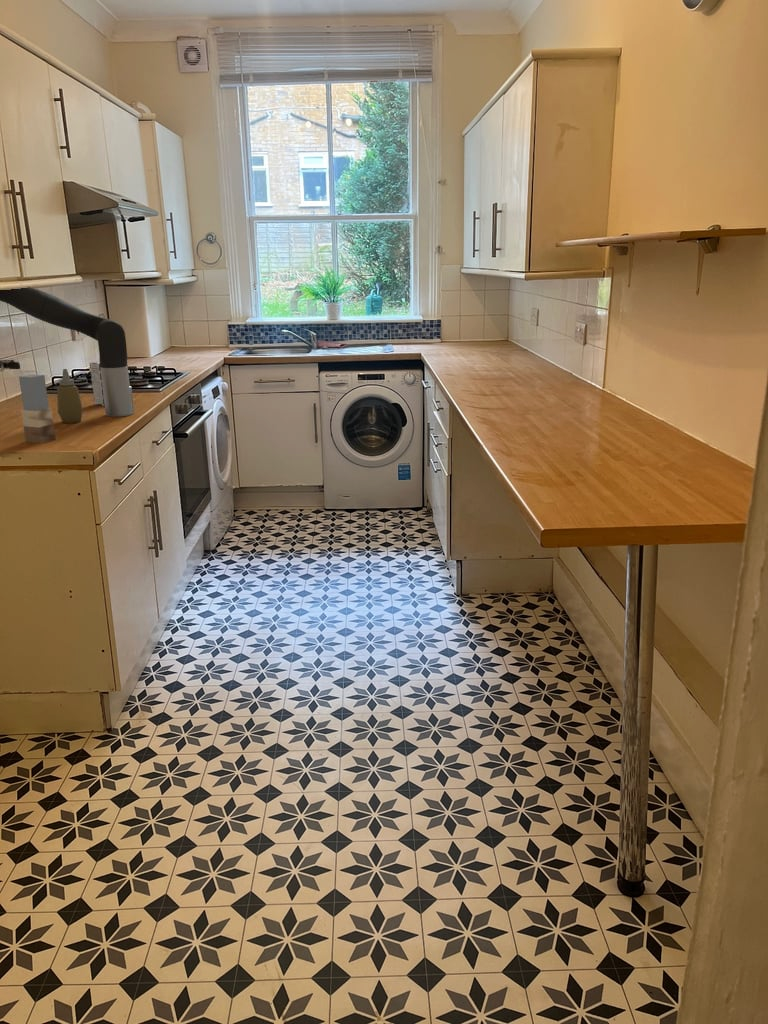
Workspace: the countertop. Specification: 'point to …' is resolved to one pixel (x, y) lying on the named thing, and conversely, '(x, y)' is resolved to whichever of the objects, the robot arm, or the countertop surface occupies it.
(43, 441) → the tower base
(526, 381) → the countertop surface
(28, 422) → the tower top
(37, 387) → the pillar
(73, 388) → the squeeze bottle
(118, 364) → the robot arm
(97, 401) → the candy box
